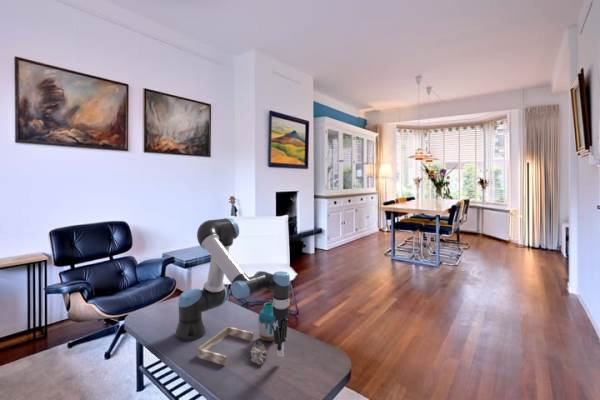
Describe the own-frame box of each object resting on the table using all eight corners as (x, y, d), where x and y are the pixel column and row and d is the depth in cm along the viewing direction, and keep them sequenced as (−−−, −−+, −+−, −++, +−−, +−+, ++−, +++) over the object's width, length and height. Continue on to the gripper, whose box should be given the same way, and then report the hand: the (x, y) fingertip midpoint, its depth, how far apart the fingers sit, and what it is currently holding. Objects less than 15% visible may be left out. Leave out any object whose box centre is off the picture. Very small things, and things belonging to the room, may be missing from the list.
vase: (275, 345, 153) (275, 309, 152) (255, 343, 155) (255, 307, 154) (280, 335, 164) (281, 301, 162) (262, 333, 166) (262, 299, 164)
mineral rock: (264, 367, 136) (264, 358, 135) (246, 366, 136) (246, 356, 136) (270, 349, 150) (270, 340, 150) (254, 348, 151) (254, 339, 151)
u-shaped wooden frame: (196, 357, 142) (196, 348, 142) (227, 333, 165) (227, 326, 165) (225, 365, 136) (225, 357, 136) (253, 339, 159) (253, 332, 158)
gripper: (282, 313, 130) (281, 365, 131) (294, 302, 142) (293, 350, 143) (267, 310, 133) (266, 361, 134) (280, 299, 145) (279, 346, 146)
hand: (280, 355), depth 139 cm, fingers closed
